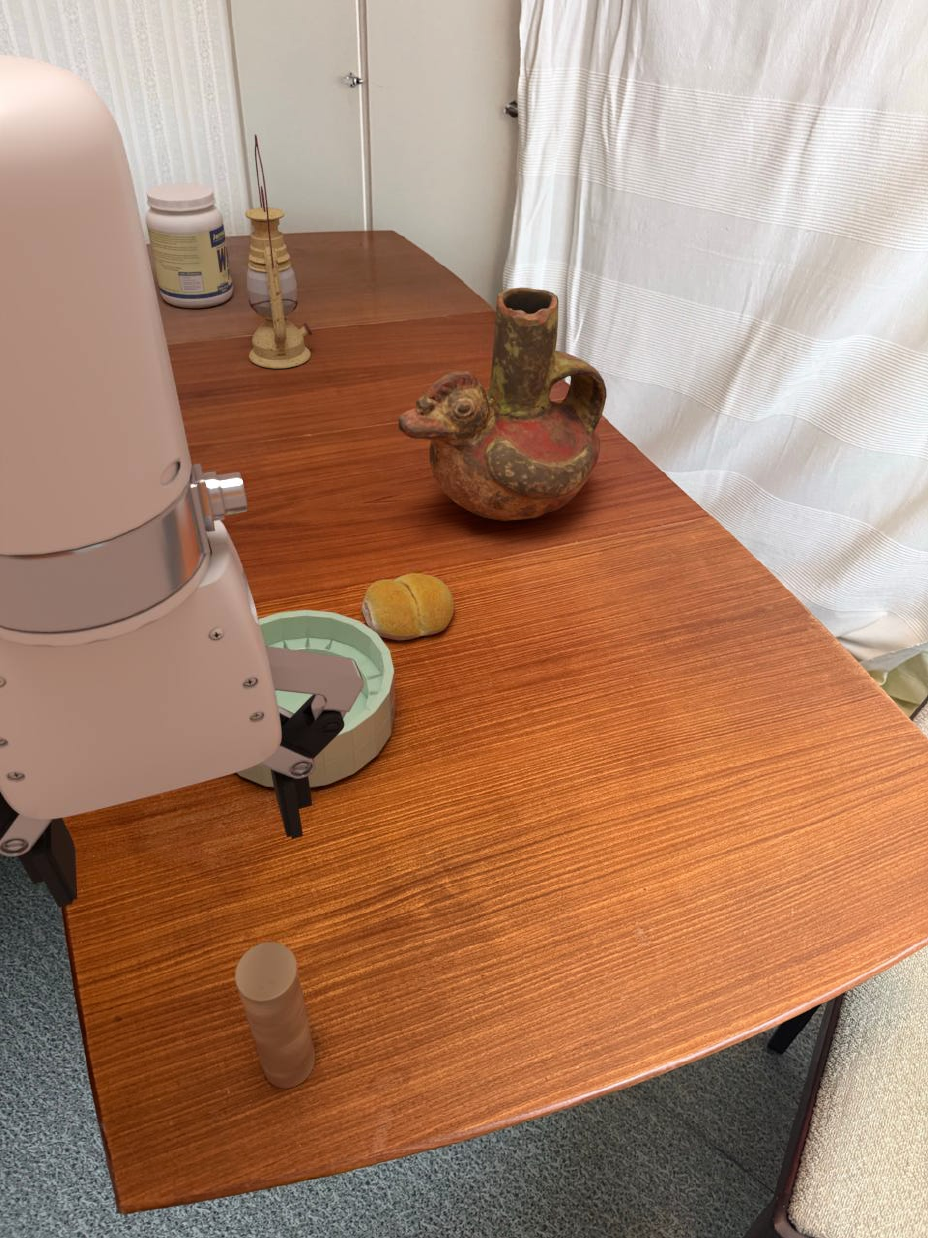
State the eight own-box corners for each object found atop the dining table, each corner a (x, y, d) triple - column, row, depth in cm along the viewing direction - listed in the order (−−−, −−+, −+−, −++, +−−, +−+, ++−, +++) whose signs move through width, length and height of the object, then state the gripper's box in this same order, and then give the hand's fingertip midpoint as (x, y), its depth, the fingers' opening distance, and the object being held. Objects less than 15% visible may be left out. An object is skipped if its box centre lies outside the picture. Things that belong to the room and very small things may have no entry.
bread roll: (465, 631, 82) (466, 600, 79) (378, 651, 79) (377, 620, 77) (436, 581, 88) (437, 550, 85) (354, 599, 85) (352, 568, 82)
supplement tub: (235, 308, 141) (219, 200, 129) (160, 312, 138) (137, 202, 127) (233, 283, 150) (218, 179, 138) (162, 286, 147) (141, 181, 136)
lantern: (320, 370, 124) (302, 144, 104) (253, 376, 122) (221, 146, 102) (308, 338, 133) (290, 123, 113) (246, 342, 131) (215, 124, 111)
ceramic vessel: (369, 502, 98) (360, 288, 82) (548, 451, 109) (572, 253, 92) (440, 582, 87) (446, 354, 71) (631, 517, 98) (675, 305, 81)
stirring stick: (263, 1094, 50) (235, 1006, 42) (261, 1040, 52) (234, 947, 44) (317, 1082, 51) (298, 994, 43) (313, 1029, 53) (294, 936, 45)
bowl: (212, 807, 65) (198, 758, 61) (213, 669, 77) (202, 620, 73) (407, 777, 68) (407, 729, 64) (381, 649, 80) (379, 601, 76)
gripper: (321, 434, 31) (347, 734, 42) (-220, 517, 26) (-26, 832, 37) (379, 548, 26) (391, 855, 37) (-282, 678, 21) (-35, 988, 32)
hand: (182, 843), depth 37 cm, fingers open, 9 cm apart
